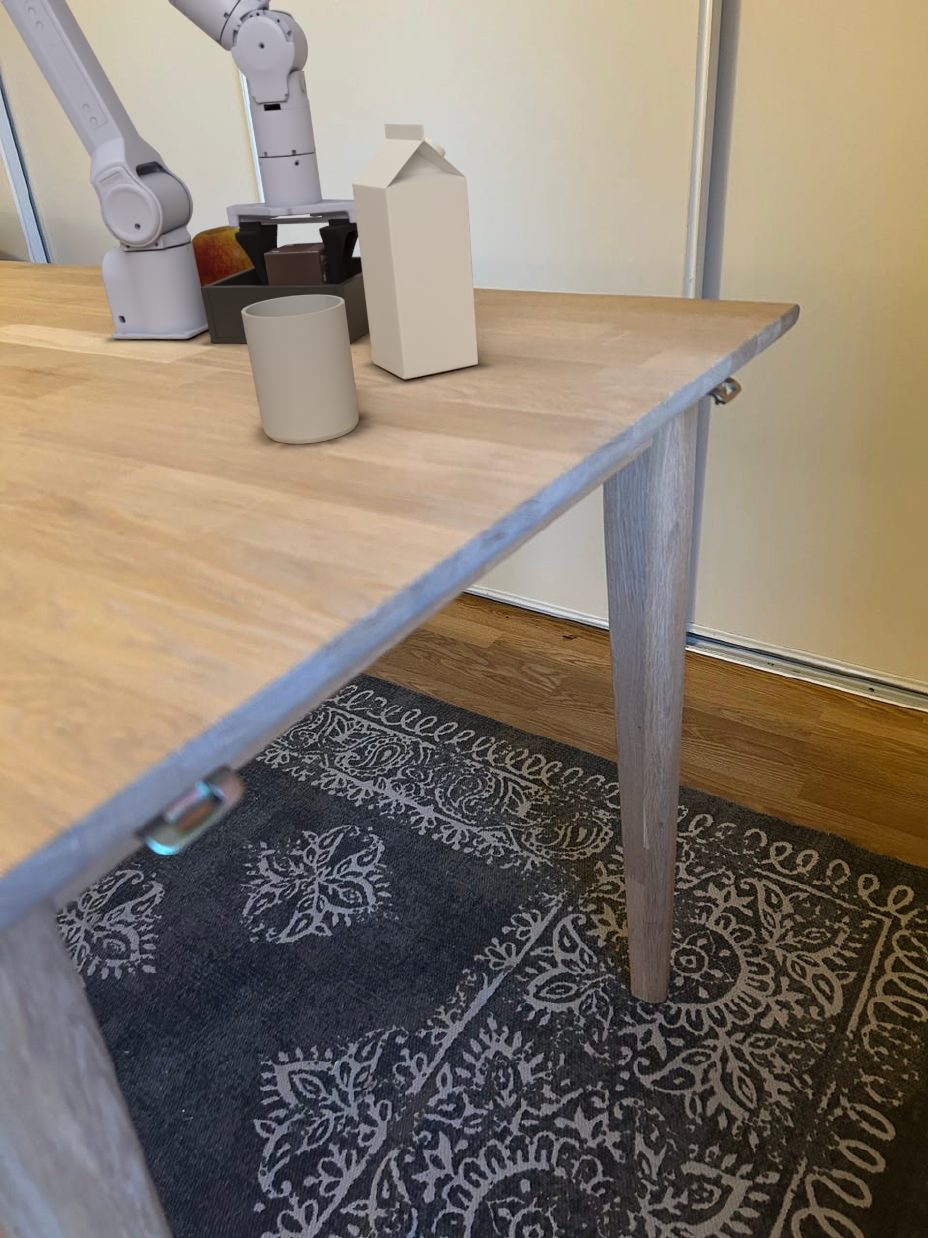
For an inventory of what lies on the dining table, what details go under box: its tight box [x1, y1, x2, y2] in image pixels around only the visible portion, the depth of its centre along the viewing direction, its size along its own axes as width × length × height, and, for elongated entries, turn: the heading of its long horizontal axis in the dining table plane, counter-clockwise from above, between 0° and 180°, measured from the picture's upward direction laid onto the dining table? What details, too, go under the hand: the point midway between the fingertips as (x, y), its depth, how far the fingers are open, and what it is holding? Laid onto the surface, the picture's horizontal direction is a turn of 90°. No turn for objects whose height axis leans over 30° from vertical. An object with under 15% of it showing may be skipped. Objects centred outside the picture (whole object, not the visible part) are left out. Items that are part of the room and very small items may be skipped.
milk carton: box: [351, 123, 479, 380], centre depth 79 cm, size 7×7×19 cm
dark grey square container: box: [200, 255, 370, 345], centre depth 100 cm, size 16×16×6 cm
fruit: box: [191, 224, 254, 287], centre depth 116 cm, size 10×9×8 cm
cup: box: [241, 295, 360, 445], centre depth 70 cm, size 7×10×9 cm
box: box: [264, 241, 331, 285], centre depth 99 cm, size 6×6×7 cm
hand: (307, 297), depth 100 cm, fingers open, 7 cm apart
